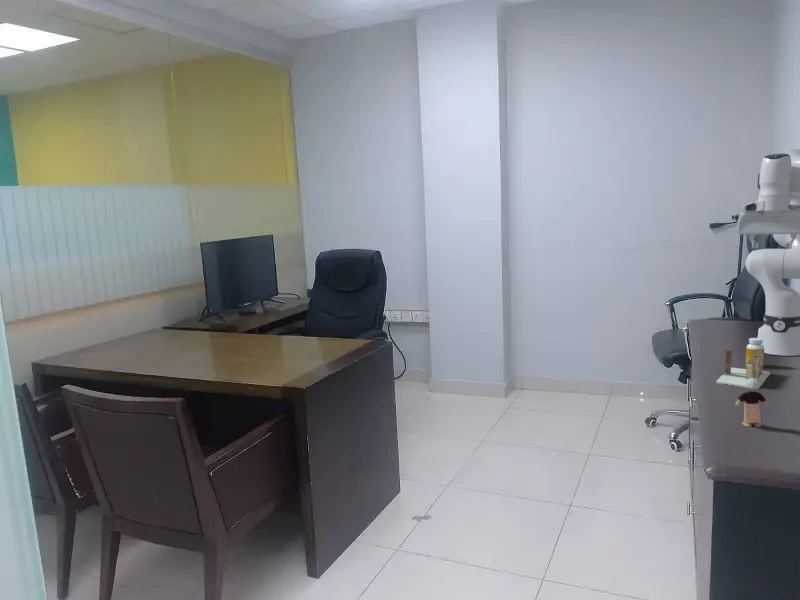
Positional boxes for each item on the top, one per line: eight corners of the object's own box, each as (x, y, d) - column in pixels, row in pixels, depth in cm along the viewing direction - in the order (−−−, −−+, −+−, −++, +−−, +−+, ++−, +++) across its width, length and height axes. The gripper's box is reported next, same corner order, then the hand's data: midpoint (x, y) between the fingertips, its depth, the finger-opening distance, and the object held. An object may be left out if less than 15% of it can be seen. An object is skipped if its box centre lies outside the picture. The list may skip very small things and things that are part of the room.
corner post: (725, 372, 205) (726, 349, 204) (731, 372, 204) (732, 349, 203) (724, 373, 204) (725, 350, 203) (730, 374, 203) (731, 350, 202)
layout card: (730, 368, 211) (730, 367, 211) (770, 373, 203) (770, 371, 203) (715, 383, 196) (715, 381, 196) (758, 389, 188) (758, 387, 188)
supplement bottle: (754, 368, 210) (755, 341, 208) (742, 365, 215) (743, 338, 213) (767, 367, 211) (768, 339, 210) (754, 363, 216) (755, 336, 215)
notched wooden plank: (750, 377, 197) (751, 356, 196) (755, 378, 196) (756, 357, 195) (745, 383, 191) (746, 362, 190) (750, 384, 190) (751, 363, 189)
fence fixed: (756, 371, 205) (757, 350, 203) (761, 372, 204) (762, 350, 202) (750, 378, 197) (751, 356, 196) (756, 378, 196) (757, 356, 195)
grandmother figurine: (759, 421, 162) (762, 375, 160) (768, 426, 158) (771, 379, 156) (731, 423, 162) (733, 377, 160) (739, 428, 158) (742, 381, 156)
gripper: (814, 204, 190) (811, 248, 192) (740, 206, 203) (738, 247, 205) (811, 204, 186) (808, 249, 187) (736, 206, 199) (734, 248, 201)
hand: (771, 248), depth 196 cm, fingers open, 8 cm apart
